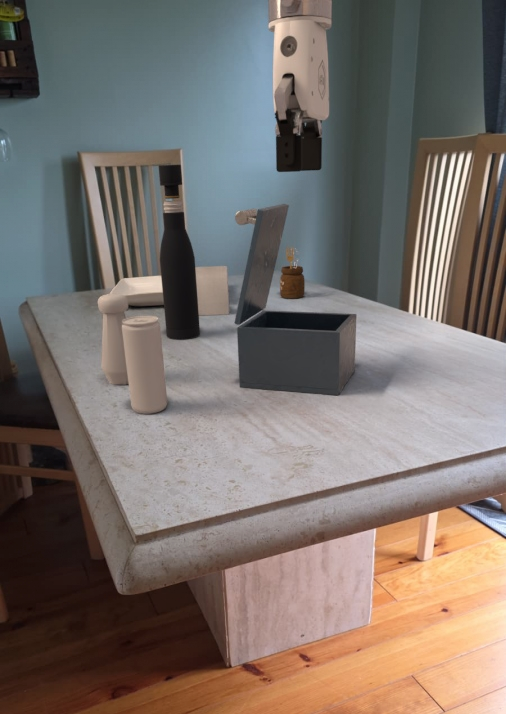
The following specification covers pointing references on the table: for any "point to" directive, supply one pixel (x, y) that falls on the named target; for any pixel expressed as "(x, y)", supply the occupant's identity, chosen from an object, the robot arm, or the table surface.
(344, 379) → the bin
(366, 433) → the table surface
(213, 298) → the beige rectangular box
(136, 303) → the square plate
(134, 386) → the beverage can
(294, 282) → the utensil holder
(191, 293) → the black water bottle
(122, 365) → the salt shaker
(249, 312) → the bin lid
